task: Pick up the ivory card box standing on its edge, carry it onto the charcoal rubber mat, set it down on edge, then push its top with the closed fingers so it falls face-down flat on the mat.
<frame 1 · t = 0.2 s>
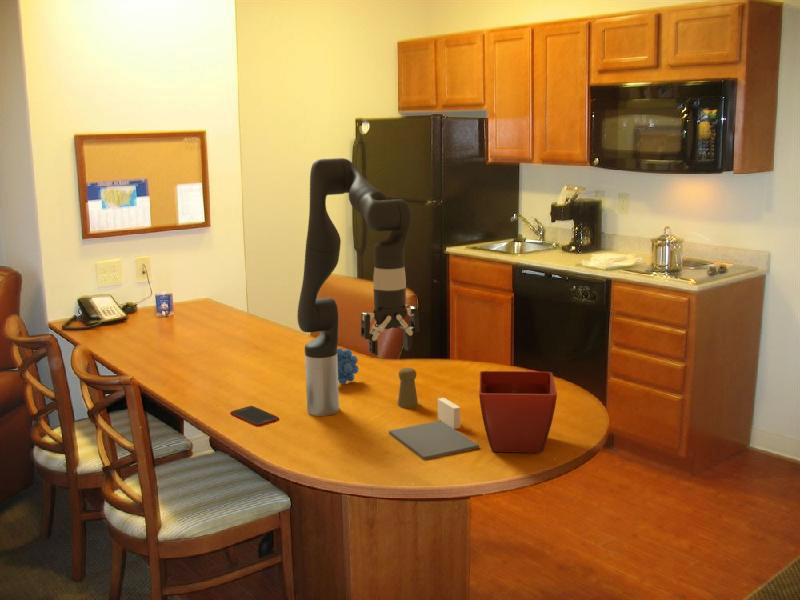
hand: (390, 352, 204), 29 cm above the table, tool pointing down, fingers open, 8 cm apart
mat: (432, 440, 225), on the table
cell phone: (254, 418, 245), on the table
plant pot: (515, 444, 223), on the table
grapes: (345, 385, 272), on the table
card box: (448, 423, 238), on the table
cork: (407, 405, 253), on the table
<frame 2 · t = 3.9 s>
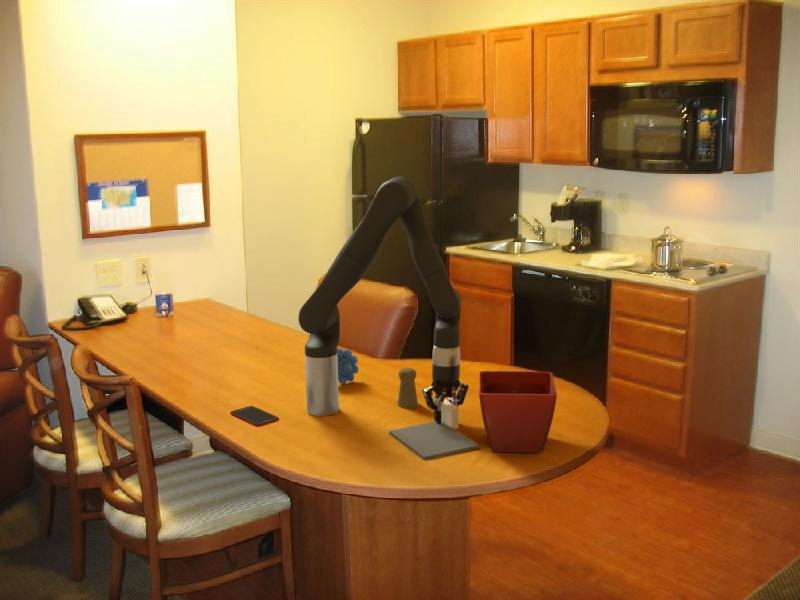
hand: (444, 421, 237), 1 cm above the table, tool pointing down, fingers open, 3 cm apart
nothing on the table moved.
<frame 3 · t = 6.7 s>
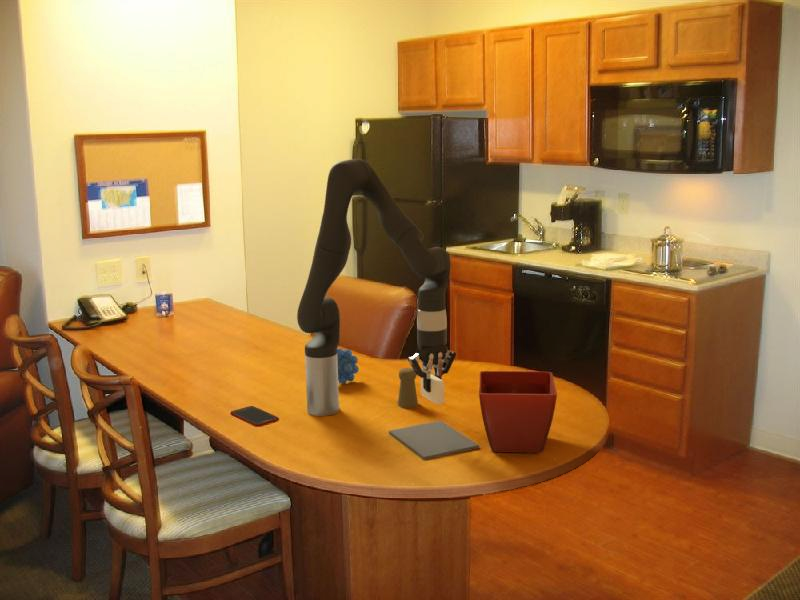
hand: (432, 390, 222), 14 cm above the table, tool pointing down, fingers closed on card box
card box: (432, 399, 223), point 12 cm above the table, touching gripper
everything else where it was.
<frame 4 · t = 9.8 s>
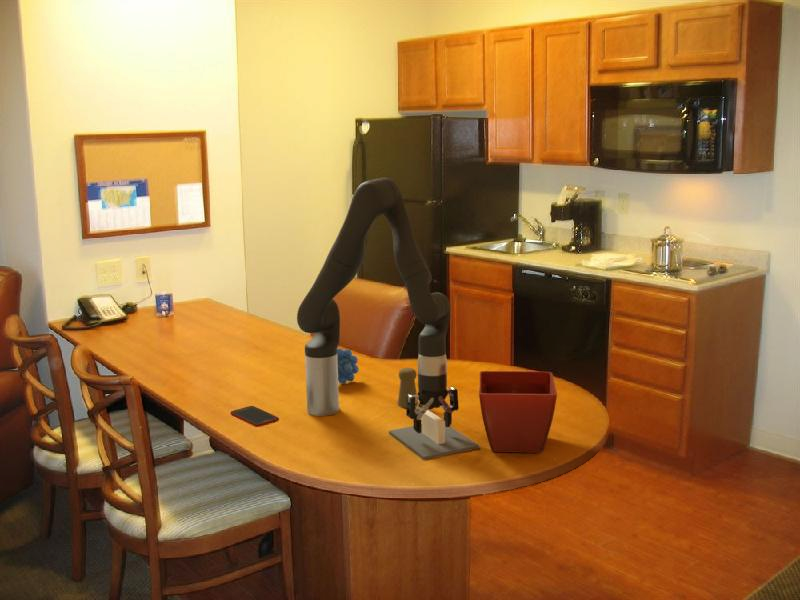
hand: (432, 429, 225), 3 cm above the table, tool pointing down, fingers open, 8 cm apart
card box: (433, 437, 225), point 1 cm above the table, touching mat
everything else where it was.
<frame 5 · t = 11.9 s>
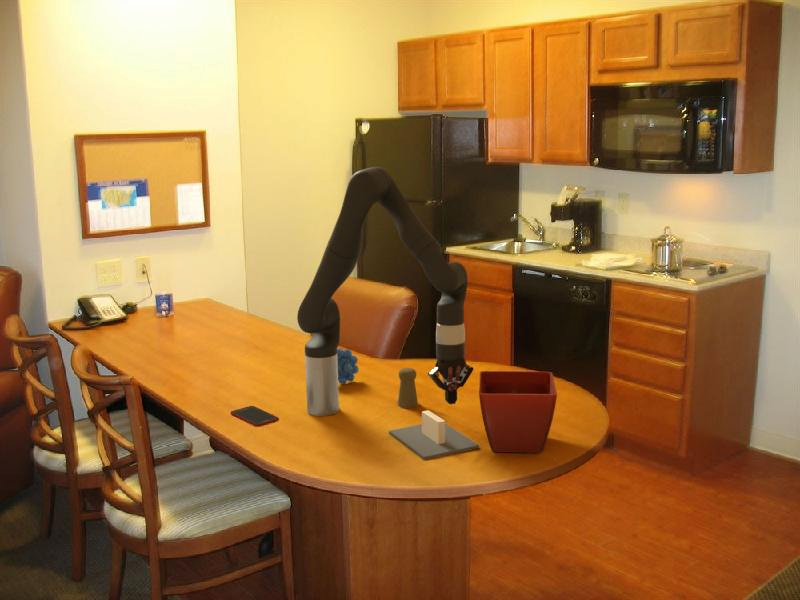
hand: (451, 403, 226), 9 cm above the table, tool pointing down, fingers closed
nothing on the table moved.
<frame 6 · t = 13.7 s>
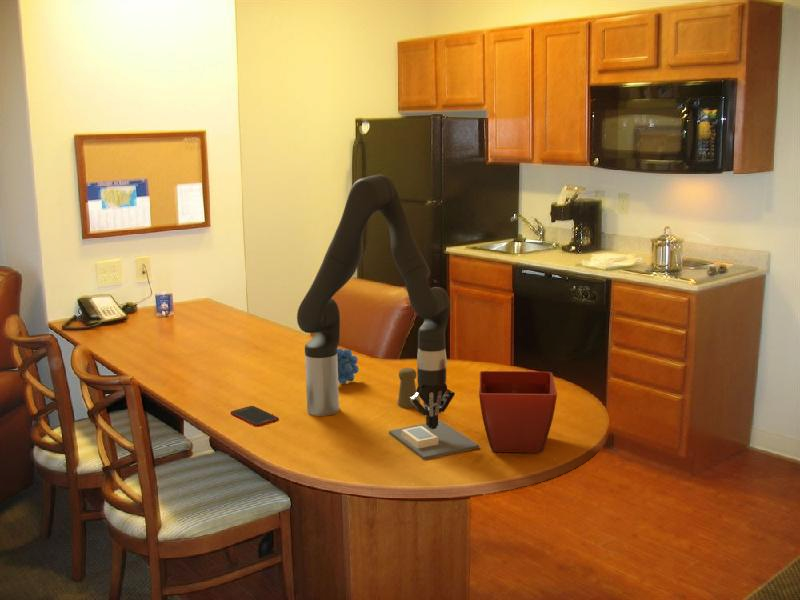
hand: (432, 428, 225), 3 cm above the table, tool pointing down, fingers closed
card box: (429, 434, 225), point 2 cm above the table, tilted 90°, touching mat
everything else where it was.
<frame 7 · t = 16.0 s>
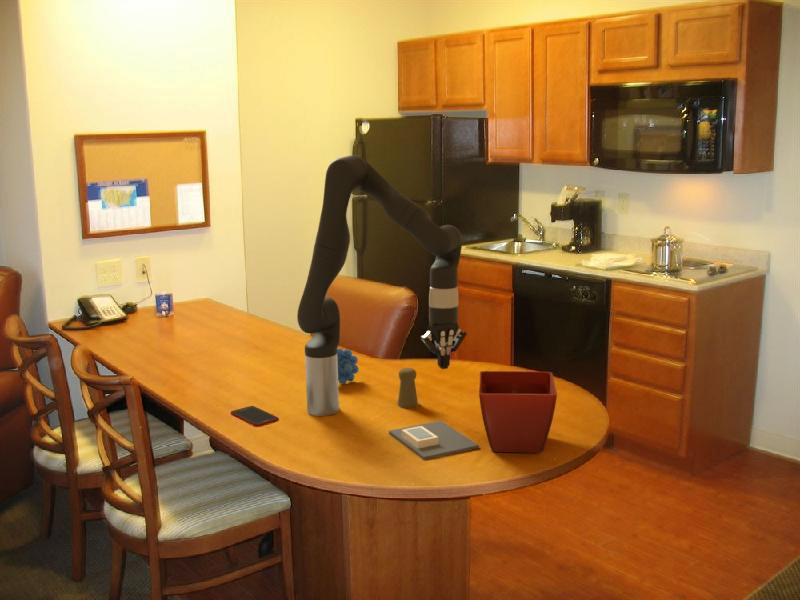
hand: (443, 368, 224), 19 cm above the table, tool pointing down, fingers closed
nothing on the table moved.
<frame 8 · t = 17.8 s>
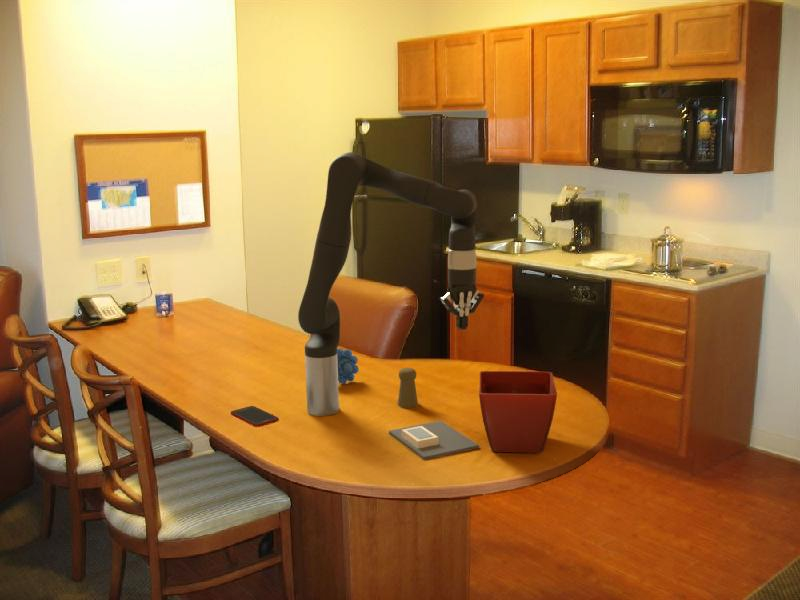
hand: (462, 329, 231), 27 cm above the table, tool pointing down, fingers closed
nothing on the table moved.
at the end: card box tilted 90°; card box inside the target area (0.9 cm from its centre), point 1.8 cm above the table; the gripper is holding nothing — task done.
